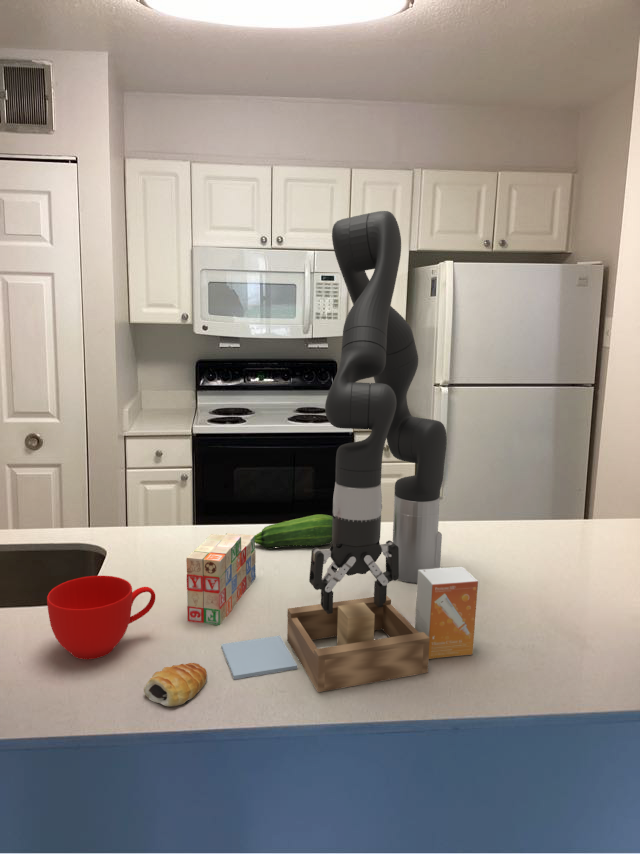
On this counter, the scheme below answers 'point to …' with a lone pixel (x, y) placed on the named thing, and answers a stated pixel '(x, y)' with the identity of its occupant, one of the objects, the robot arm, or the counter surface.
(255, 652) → the pad
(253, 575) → the stack of blocks
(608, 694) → the counter surface
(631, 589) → the counter surface
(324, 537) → the vegetable
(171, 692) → the pastry
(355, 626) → the block
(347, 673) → the crate
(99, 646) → the ceramic cup
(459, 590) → the small box
